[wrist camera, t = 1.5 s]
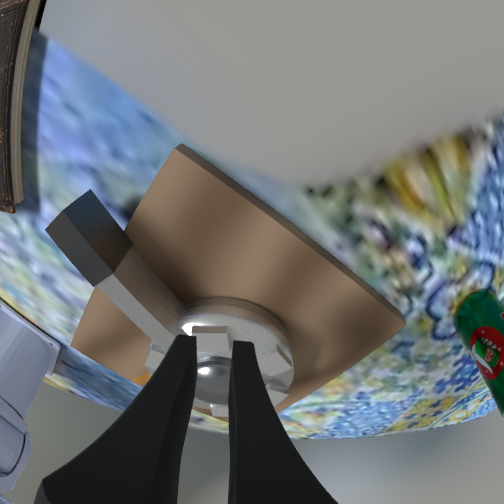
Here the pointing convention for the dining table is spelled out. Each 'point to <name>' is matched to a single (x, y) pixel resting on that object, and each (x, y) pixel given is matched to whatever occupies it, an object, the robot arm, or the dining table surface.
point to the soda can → (484, 338)
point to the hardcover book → (14, 91)
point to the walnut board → (239, 278)
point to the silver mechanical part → (173, 307)
